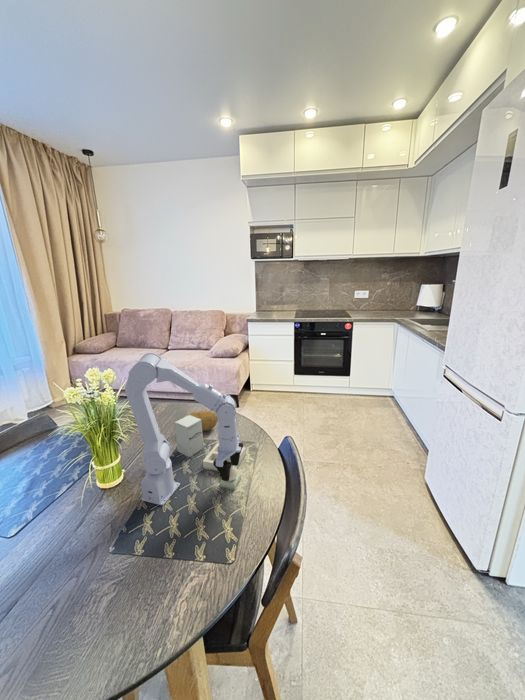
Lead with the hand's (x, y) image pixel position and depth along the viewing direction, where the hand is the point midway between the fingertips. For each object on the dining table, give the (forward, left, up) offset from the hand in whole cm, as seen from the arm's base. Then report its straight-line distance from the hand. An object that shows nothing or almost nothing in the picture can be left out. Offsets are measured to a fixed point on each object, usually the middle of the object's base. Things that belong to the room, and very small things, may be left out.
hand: (230, 472), depth 95 cm
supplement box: (+13, +23, -4) cm, 26 cm away
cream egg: (0, 0, 0) cm, 0 cm away
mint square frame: (0, 0, -4) cm, 4 cm away
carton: (+10, +7, -4) cm, 13 cm away
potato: (+28, +26, -4) cm, 38 cm away
